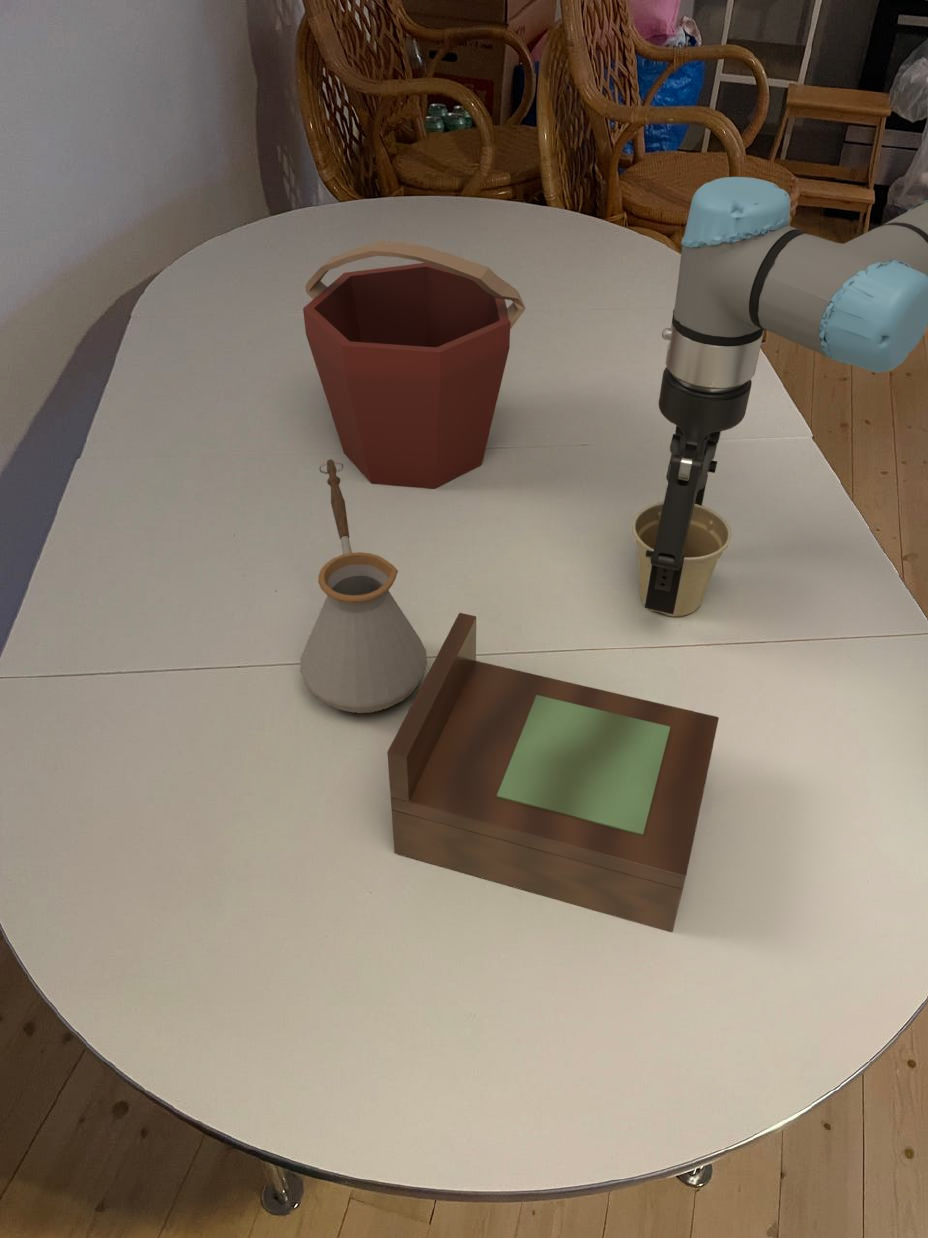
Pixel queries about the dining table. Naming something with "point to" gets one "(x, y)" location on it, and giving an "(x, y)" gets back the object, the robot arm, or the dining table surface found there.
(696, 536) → the flower pot
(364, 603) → the coffee pot
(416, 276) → the bucket
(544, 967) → the dining table surface
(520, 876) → the plant shelf
